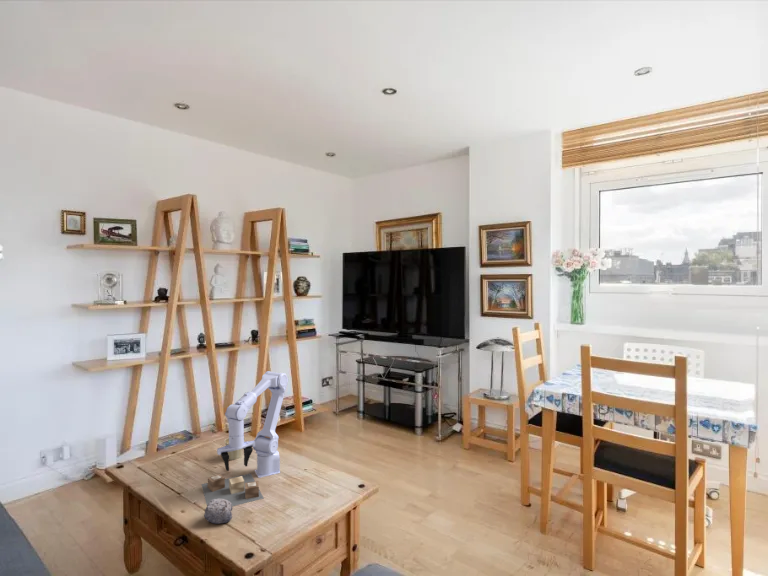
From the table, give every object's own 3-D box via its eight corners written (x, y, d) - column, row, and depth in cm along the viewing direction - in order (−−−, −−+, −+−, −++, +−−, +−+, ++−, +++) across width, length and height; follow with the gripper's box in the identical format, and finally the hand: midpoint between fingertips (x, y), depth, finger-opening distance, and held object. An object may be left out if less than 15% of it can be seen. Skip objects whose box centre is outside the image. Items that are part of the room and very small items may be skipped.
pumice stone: (238, 523, 151) (220, 508, 156) (242, 504, 150) (225, 489, 155) (213, 537, 143) (196, 521, 147) (218, 517, 141) (200, 501, 146)
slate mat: (250, 474, 184) (250, 473, 184) (263, 499, 163) (263, 498, 163) (201, 485, 174) (201, 484, 174) (208, 513, 154) (208, 512, 154)
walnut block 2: (258, 490, 169) (258, 480, 169) (258, 496, 164) (258, 486, 164) (245, 492, 167) (245, 482, 167) (245, 499, 163) (245, 488, 163)
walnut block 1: (219, 483, 175) (219, 473, 175) (224, 487, 172) (224, 477, 171) (207, 487, 172) (207, 477, 172) (212, 491, 168) (212, 481, 168)
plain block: (241, 485, 173) (241, 476, 173) (244, 490, 169) (244, 481, 169) (229, 488, 171) (229, 478, 171) (231, 494, 166) (231, 484, 166)
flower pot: (241, 462, 196) (241, 443, 196) (221, 461, 196) (221, 443, 196) (248, 453, 206) (247, 436, 205) (228, 453, 206) (228, 436, 206)
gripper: (251, 427, 177) (251, 459, 177) (215, 435, 168) (215, 468, 169) (256, 432, 171) (256, 465, 171) (219, 440, 163) (219, 475, 163)
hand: (236, 467), depth 170 cm, fingers open, 7 cm apart
